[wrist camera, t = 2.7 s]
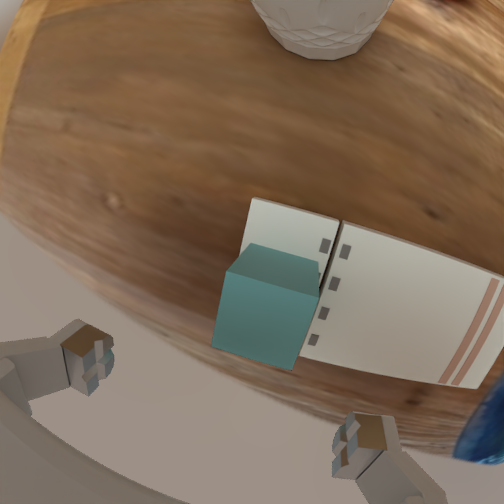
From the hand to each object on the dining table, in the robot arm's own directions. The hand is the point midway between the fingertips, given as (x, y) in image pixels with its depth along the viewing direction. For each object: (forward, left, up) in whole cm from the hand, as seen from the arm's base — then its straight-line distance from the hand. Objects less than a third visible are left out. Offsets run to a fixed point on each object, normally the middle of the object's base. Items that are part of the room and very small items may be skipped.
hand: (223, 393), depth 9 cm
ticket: (-11, 0, -11) cm, 15 cm away
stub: (0, 0, -11) cm, 11 cm away
